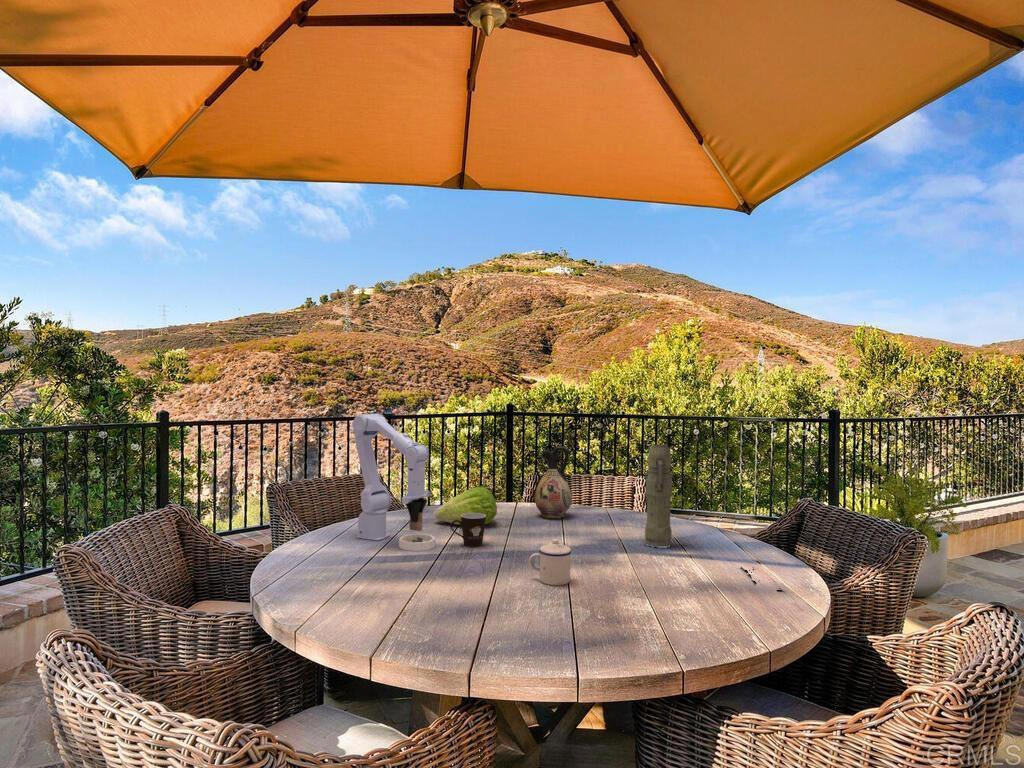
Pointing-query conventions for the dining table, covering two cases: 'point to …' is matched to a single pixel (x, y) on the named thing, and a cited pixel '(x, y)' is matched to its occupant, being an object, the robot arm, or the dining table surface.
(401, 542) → the white shallow dish
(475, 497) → the chayote
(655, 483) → the carved stone statue
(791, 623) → the dining table surface
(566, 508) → the ceramic jug
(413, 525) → the brown wooden block
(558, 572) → the teacup with lid
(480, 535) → the coffee mug
